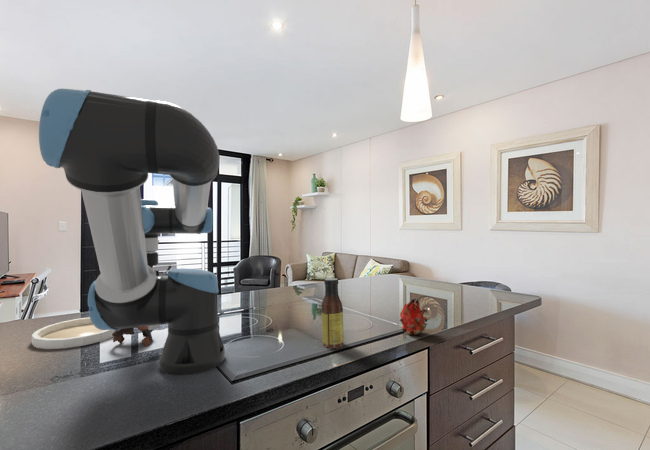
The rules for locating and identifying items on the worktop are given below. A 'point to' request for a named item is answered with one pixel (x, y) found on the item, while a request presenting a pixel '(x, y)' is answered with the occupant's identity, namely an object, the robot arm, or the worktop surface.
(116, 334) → the brown jagged angular piece
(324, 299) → the sauce bottle
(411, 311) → the dragon fruit
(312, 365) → the worktop surface
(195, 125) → the robot arm
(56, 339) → the shallow round plate
